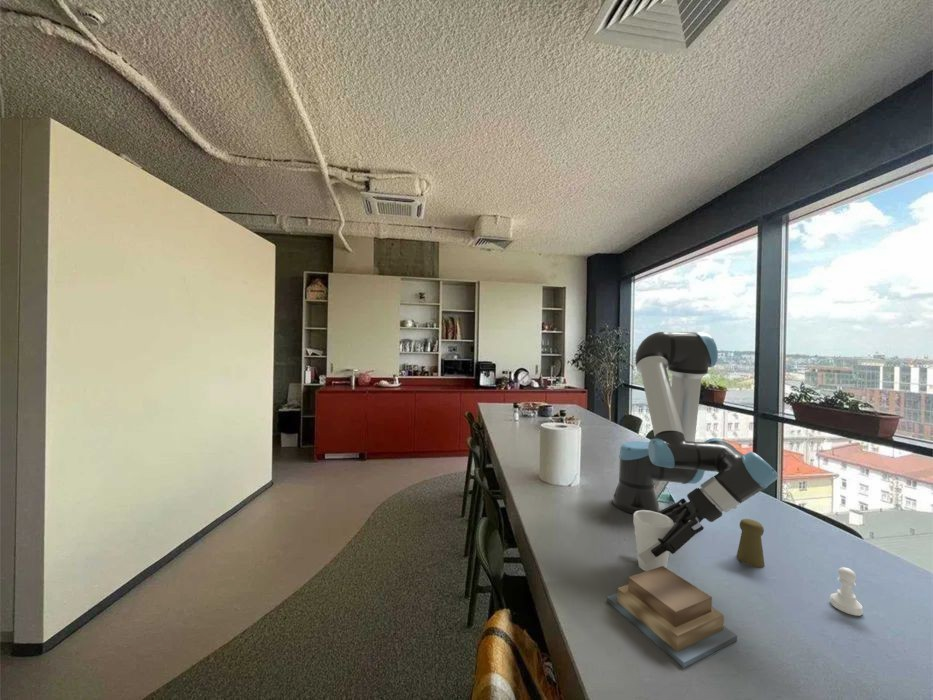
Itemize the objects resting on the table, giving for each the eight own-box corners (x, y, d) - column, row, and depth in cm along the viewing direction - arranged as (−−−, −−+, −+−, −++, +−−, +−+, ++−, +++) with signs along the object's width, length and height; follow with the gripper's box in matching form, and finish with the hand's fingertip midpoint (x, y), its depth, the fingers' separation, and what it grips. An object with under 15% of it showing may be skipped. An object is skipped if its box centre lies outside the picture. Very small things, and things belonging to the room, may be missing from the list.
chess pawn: (825, 597, 83) (826, 559, 83) (853, 603, 81) (854, 565, 81) (838, 612, 78) (839, 572, 78) (868, 619, 77) (870, 578, 77)
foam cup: (625, 556, 97) (626, 510, 97) (657, 556, 98) (658, 509, 98) (645, 579, 88) (647, 527, 88) (680, 578, 88) (682, 527, 88)
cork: (758, 557, 99) (759, 518, 99) (769, 569, 93) (770, 528, 93) (733, 552, 101) (734, 514, 101) (741, 564, 95) (743, 524, 95)
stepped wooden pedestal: (606, 601, 80) (607, 570, 80) (655, 583, 86) (656, 555, 86) (683, 668, 63) (685, 629, 63) (737, 640, 70) (738, 605, 70)
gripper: (740, 534, 77) (656, 586, 82) (710, 495, 98) (645, 538, 103) (712, 505, 78) (632, 558, 84) (688, 473, 100) (626, 517, 105)
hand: (639, 547), depth 94 cm, fingers open, 10 cm apart
